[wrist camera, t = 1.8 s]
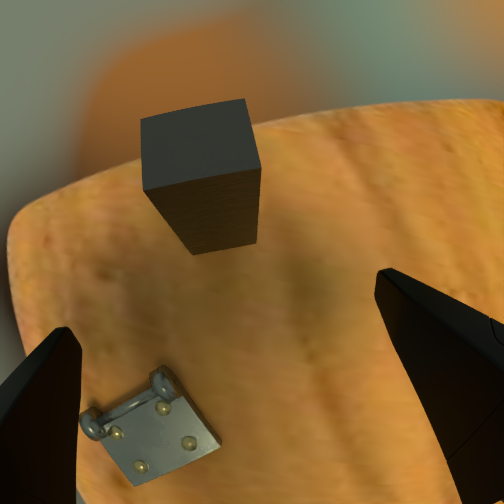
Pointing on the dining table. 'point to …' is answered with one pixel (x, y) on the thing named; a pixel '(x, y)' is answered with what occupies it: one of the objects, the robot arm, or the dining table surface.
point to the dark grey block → (204, 174)
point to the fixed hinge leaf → (152, 429)
